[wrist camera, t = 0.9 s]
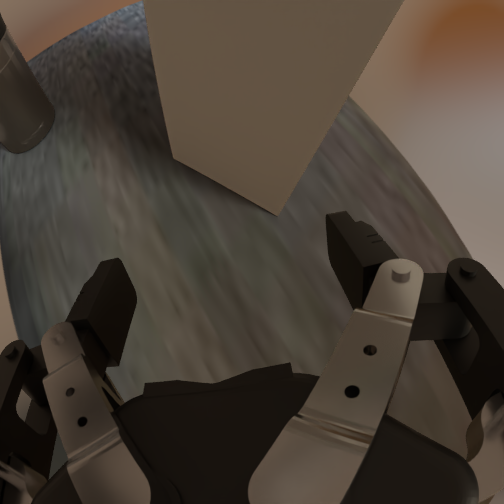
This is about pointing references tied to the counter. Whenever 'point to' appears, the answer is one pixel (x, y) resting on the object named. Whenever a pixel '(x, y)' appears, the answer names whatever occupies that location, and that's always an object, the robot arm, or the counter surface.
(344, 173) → the counter surface
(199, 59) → the cabinet
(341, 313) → the counter surface
